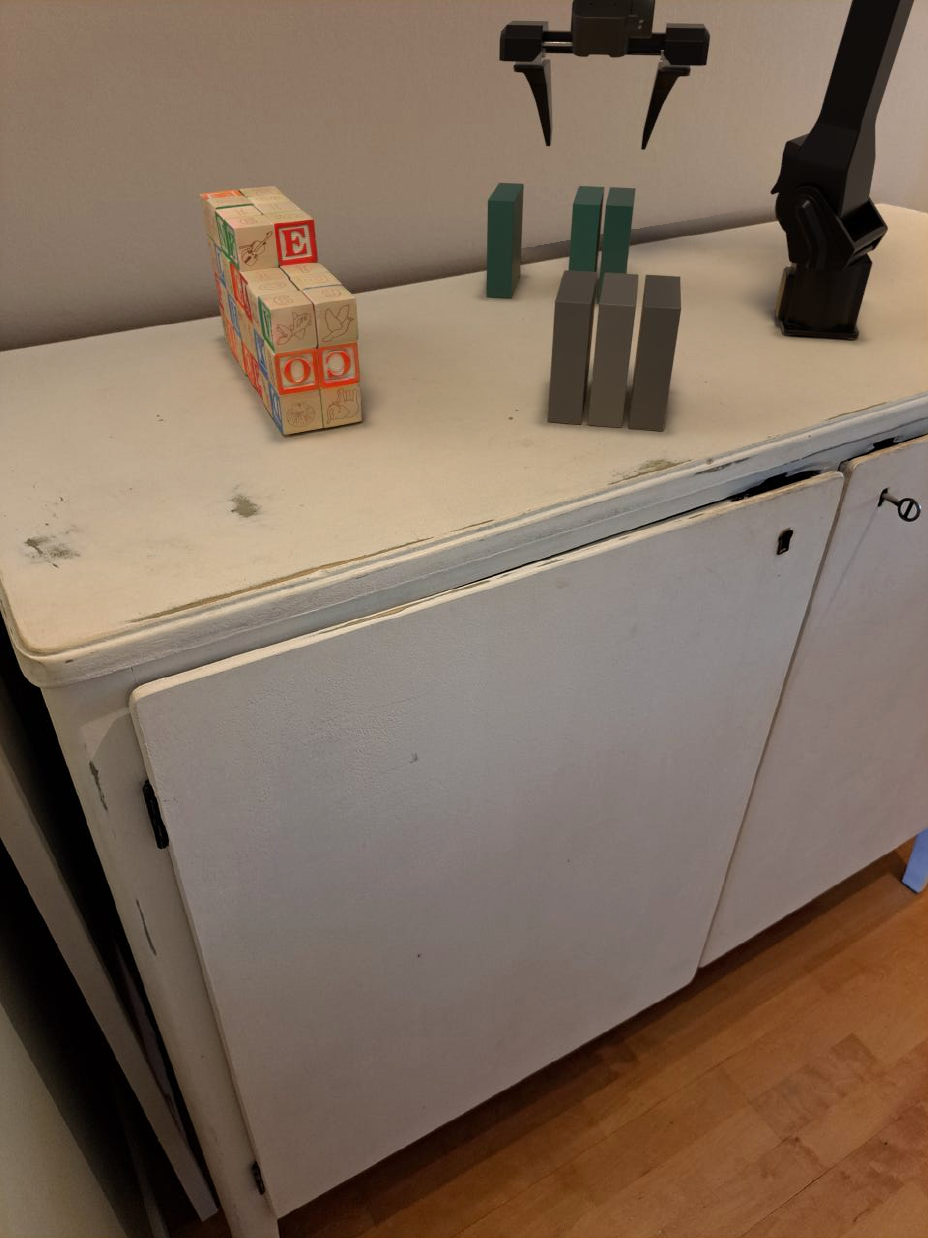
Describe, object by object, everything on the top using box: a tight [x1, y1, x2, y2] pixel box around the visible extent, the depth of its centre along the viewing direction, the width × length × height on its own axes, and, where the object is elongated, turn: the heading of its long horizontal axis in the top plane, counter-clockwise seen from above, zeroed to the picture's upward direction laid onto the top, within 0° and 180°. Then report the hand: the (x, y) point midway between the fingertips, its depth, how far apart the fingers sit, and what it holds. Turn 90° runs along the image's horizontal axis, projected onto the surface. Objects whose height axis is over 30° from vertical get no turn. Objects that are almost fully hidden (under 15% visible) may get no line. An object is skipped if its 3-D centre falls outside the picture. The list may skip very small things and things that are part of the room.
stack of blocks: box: [199, 185, 363, 436], centre depth 70 cm, size 21×6×12 cm, turn 23°
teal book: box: [485, 182, 525, 299], centre depth 89 cm, size 2×7×9 cm, turn 170°
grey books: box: [547, 269, 682, 432], centre depth 67 cm, size 8×7×9 cm
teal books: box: [567, 185, 636, 305], centre depth 88 cm, size 6×7×9 cm
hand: (595, 147), depth 88 cm, fingers open, 9 cm apart
